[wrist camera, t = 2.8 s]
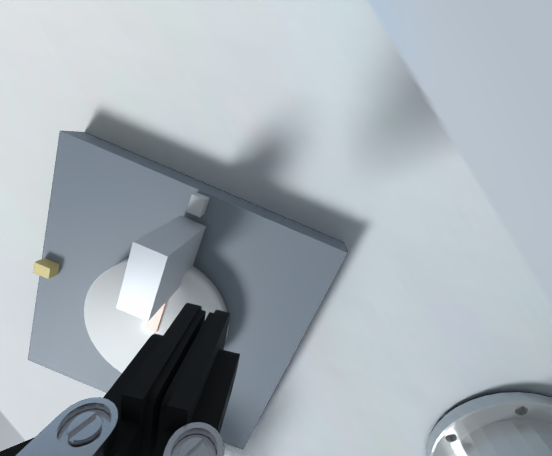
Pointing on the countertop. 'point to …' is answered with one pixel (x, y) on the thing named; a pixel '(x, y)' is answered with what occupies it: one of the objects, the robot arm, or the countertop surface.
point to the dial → (148, 291)
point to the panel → (209, 260)
